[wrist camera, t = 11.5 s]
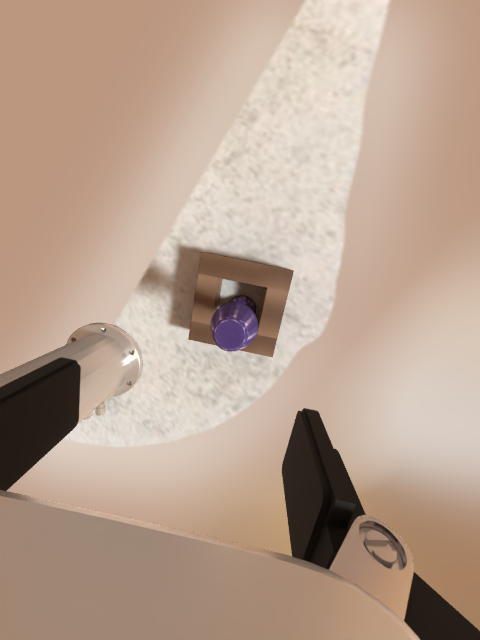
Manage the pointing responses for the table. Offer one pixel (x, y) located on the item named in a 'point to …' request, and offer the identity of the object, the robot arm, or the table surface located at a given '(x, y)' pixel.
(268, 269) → the socket block
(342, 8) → the table surface
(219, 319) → the toy lamp
